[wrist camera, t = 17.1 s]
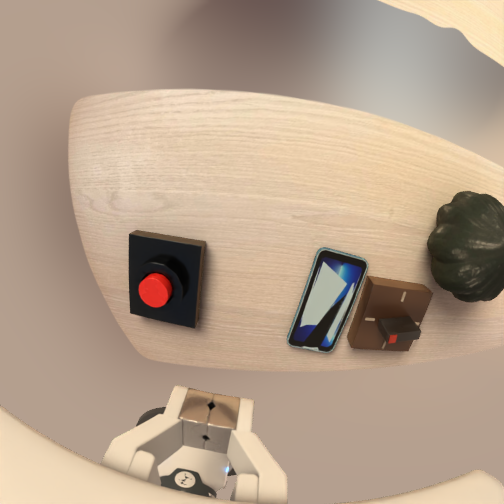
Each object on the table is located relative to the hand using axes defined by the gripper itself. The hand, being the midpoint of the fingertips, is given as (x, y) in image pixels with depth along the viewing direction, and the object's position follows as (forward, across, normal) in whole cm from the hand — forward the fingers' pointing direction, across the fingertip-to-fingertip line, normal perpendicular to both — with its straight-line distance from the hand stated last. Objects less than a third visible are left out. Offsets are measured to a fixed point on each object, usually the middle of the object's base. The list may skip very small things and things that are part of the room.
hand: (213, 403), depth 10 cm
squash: (+27, -29, -5) cm, 40 cm away
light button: (+23, +11, +8) cm, 27 cm away
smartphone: (+27, -11, +8) cm, 30 cm away
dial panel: (+27, -21, +8) cm, 35 cm away
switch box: (+27, +11, +8) cm, 30 cm away
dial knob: (+24, -21, +8) cm, 33 cm away
